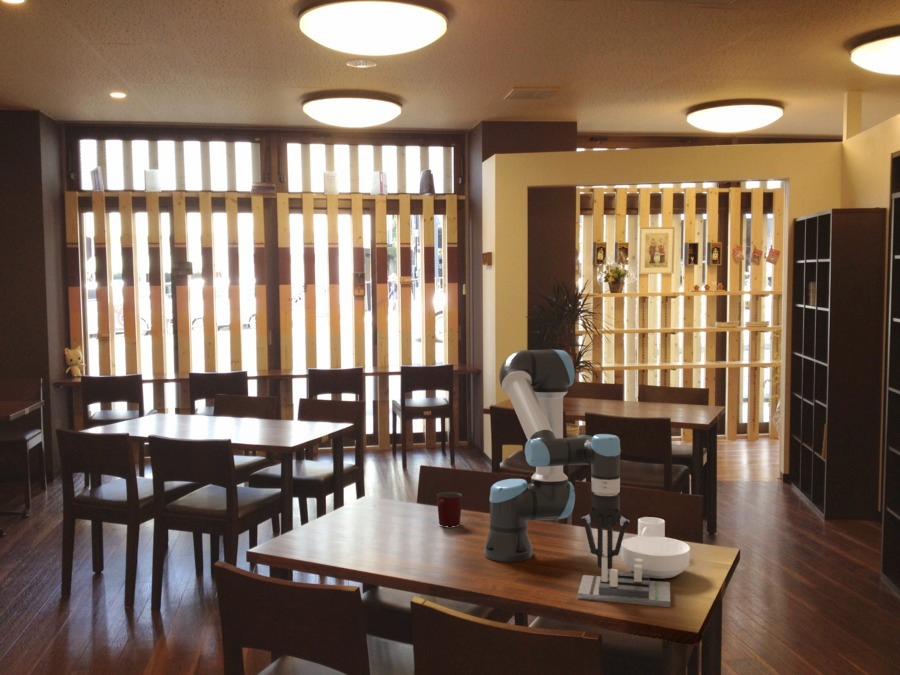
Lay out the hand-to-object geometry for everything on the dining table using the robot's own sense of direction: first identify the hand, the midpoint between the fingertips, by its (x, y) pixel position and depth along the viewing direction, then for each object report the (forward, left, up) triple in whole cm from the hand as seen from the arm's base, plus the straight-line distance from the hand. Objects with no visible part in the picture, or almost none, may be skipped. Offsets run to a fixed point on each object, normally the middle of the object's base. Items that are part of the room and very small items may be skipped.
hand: (604, 579), depth 215 cm
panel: (+5, +6, -5) cm, 9 cm away
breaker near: (+2, 0, -1) cm, 3 cm away
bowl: (+13, +25, -5) cm, 28 cm away
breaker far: (+9, +11, -1) cm, 14 cm away
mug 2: (+11, +44, -5) cm, 45 cm away
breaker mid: (+9, +6, -1) cm, 10 cm away
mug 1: (-59, +58, -5) cm, 83 cm away
